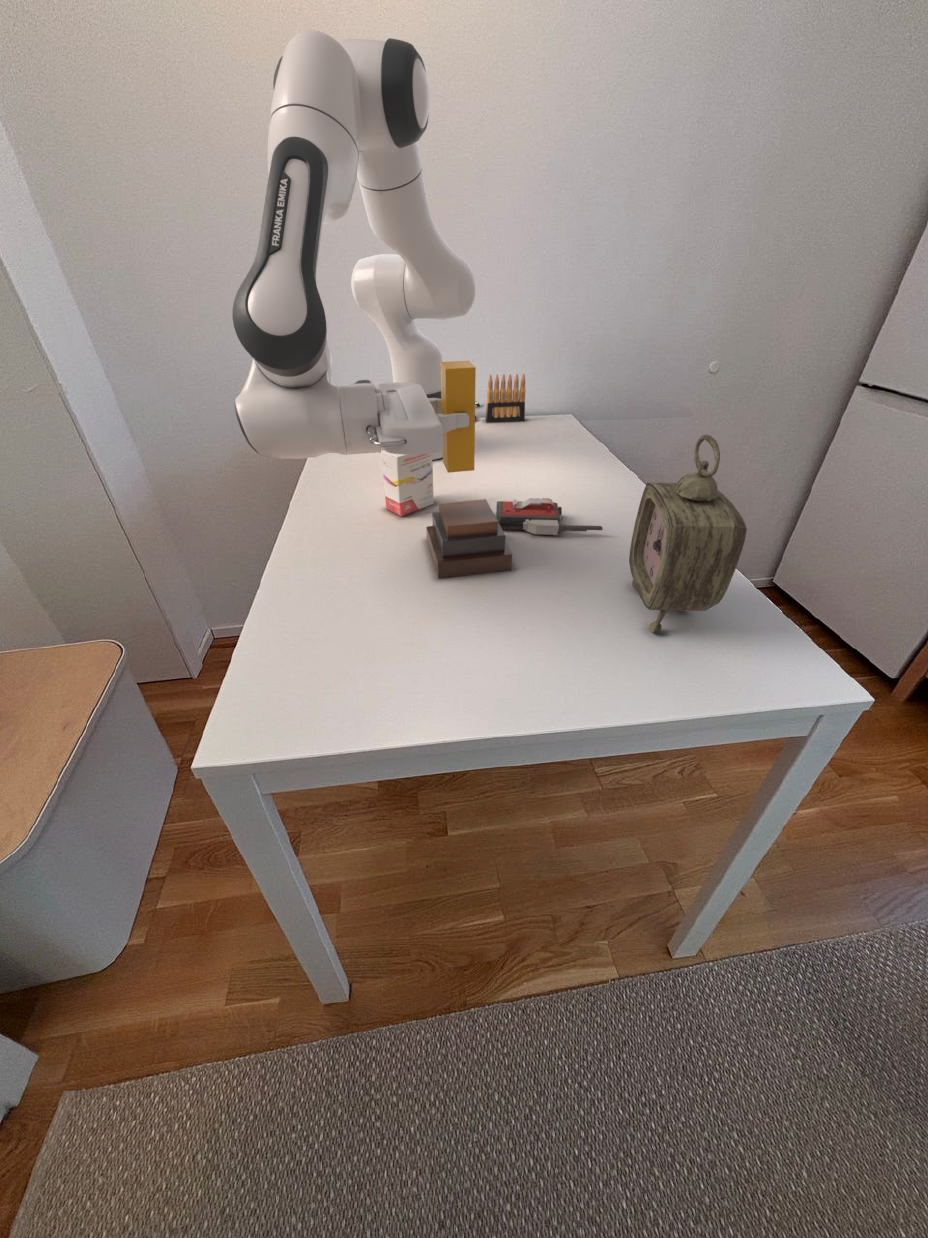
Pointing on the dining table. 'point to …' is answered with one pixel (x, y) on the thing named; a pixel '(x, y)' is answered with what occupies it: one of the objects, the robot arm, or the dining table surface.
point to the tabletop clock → (685, 542)
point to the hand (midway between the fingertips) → (464, 412)
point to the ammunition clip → (505, 400)
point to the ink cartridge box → (407, 481)
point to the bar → (458, 398)
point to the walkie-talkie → (535, 517)
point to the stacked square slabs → (467, 540)
